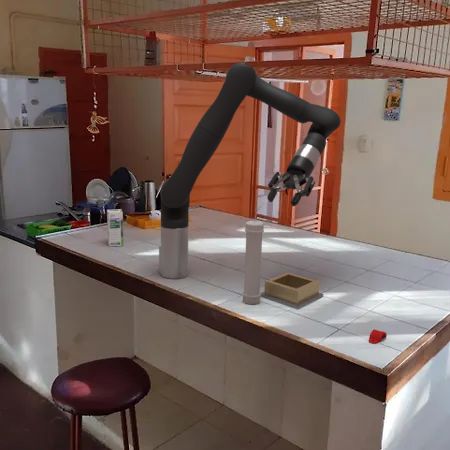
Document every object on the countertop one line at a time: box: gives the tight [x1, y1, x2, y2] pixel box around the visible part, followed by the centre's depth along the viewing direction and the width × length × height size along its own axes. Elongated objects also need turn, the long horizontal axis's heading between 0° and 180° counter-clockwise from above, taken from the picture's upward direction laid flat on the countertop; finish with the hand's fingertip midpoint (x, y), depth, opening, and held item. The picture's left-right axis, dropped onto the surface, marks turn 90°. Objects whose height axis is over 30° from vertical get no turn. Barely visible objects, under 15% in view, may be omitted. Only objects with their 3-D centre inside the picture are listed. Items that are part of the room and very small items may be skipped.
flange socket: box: [260, 271, 324, 310], centre depth 154 cm, size 14×14×5 cm
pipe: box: [242, 205, 265, 305], centre depth 147 cm, size 6×6×30 cm
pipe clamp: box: [368, 329, 387, 345], centre depth 129 cm, size 8×3×2 cm, turn 141°
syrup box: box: [106, 208, 124, 247], centre depth 204 cm, size 6×6×14 cm
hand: (280, 202), depth 152 cm, fingers open, 8 cm apart
